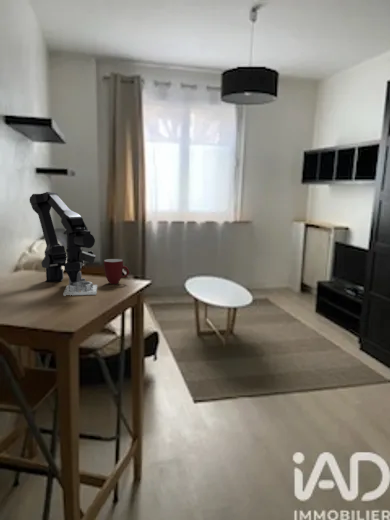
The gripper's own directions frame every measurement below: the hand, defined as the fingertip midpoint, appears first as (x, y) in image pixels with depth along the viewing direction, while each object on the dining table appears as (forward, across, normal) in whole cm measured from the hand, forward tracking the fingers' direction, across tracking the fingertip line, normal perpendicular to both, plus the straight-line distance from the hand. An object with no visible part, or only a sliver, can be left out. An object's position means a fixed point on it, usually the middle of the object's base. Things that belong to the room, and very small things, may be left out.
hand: (75, 282), depth 168 cm
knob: (+1, 0, 0) cm, 1 cm away
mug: (+2, +3, -17) cm, 17 cm away
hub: (+1, -10, -3) cm, 11 cm away
